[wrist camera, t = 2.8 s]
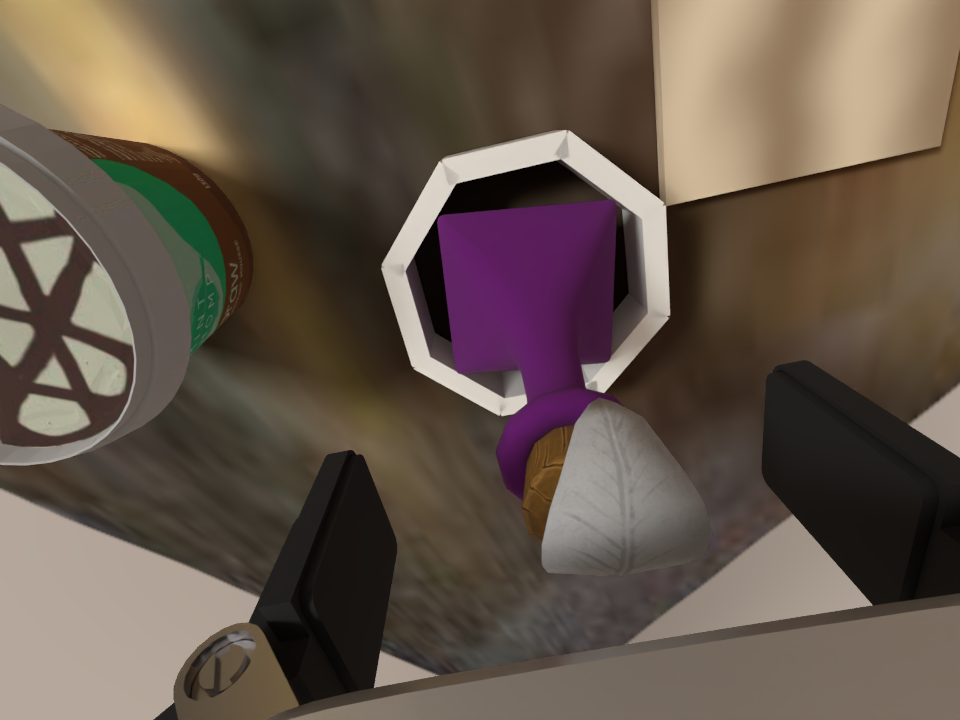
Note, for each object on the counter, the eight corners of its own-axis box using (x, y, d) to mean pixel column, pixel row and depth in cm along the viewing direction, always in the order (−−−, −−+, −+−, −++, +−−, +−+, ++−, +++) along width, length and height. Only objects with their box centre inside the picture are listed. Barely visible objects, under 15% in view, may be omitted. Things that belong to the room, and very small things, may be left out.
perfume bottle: (595, 335, 25) (808, 694, 9) (458, 346, 26) (429, 717, 9) (598, 190, 22) (941, 347, 6) (441, 204, 22) (351, 394, 6)
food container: (267, 379, 26) (159, 507, 17) (152, 353, 26) (-23, 473, 17) (288, 148, 21) (150, 158, 12) (145, 107, 20) (-116, 85, 11)
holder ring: (637, 110, 21) (661, 106, 18) (652, 357, 26) (672, 383, 23) (368, 174, 22) (353, 180, 19) (436, 399, 27) (431, 429, 24)
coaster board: (993, -227, 16) (1017, -244, 15) (924, 145, 21) (940, 145, 21) (645, -129, 17) (652, -141, 16) (660, 203, 22) (666, 206, 22)
